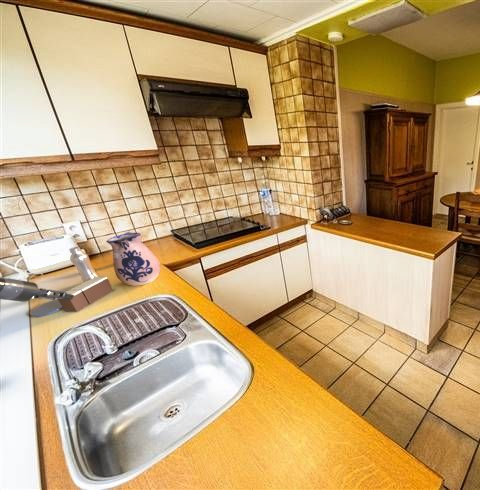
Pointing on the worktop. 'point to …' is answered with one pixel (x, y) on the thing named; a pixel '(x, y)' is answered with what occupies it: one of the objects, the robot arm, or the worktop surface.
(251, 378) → the worktop surface
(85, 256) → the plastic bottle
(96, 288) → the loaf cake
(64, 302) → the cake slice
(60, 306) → the plate
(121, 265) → the ceramic pitcher
